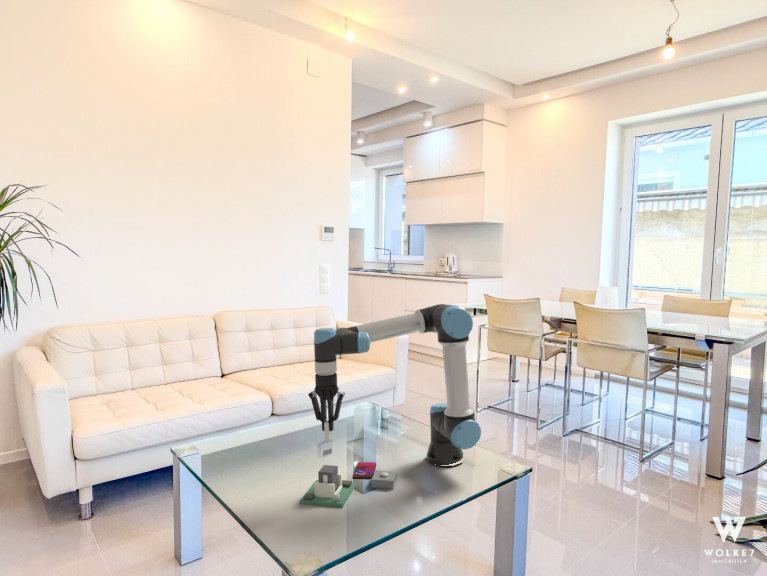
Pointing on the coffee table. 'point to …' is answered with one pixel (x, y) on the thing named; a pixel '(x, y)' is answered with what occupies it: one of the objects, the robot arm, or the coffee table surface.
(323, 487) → the board
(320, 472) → the plug
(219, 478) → the coffee table surface
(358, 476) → the smartphone
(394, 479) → the grey button box
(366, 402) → the coffee table surface
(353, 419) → the coffee table surface
